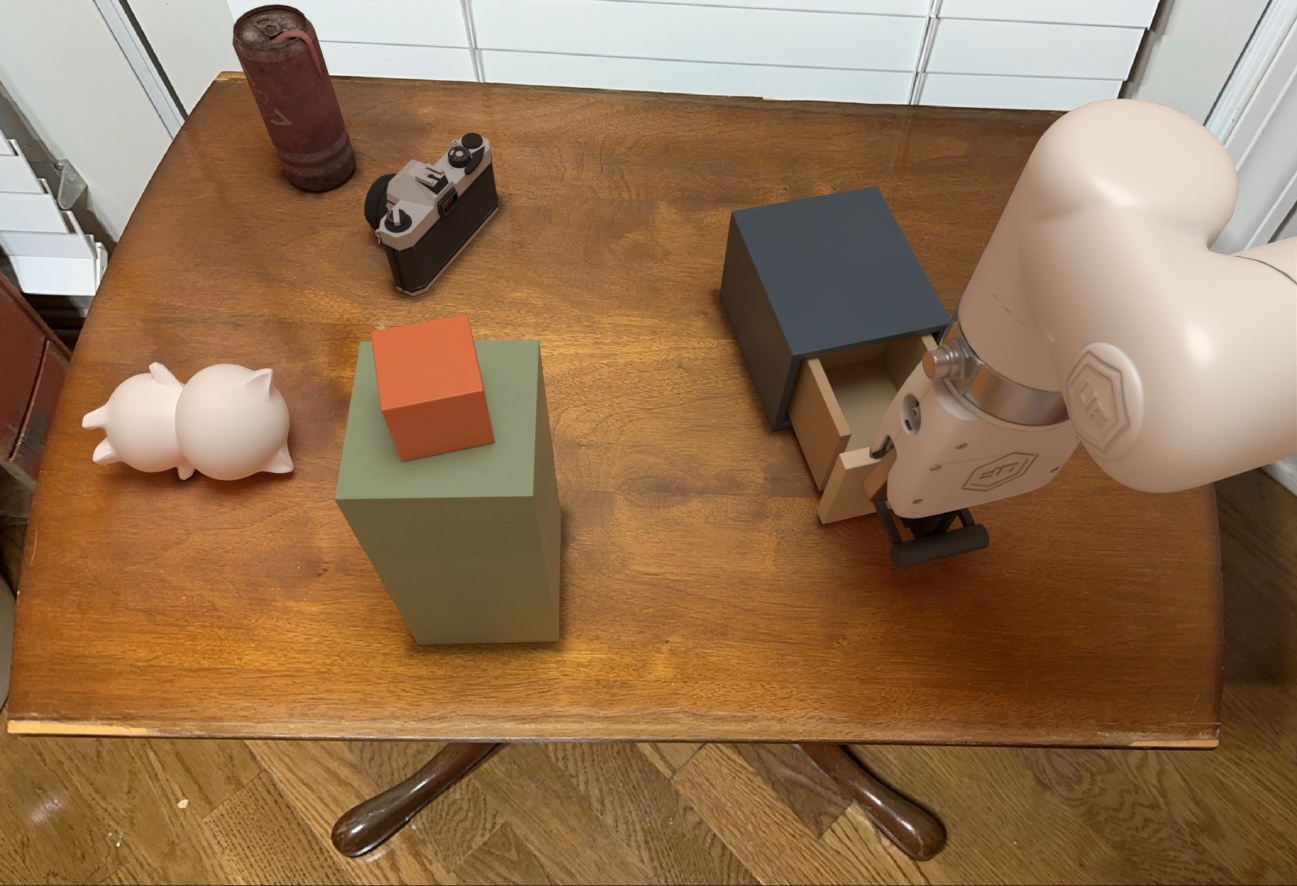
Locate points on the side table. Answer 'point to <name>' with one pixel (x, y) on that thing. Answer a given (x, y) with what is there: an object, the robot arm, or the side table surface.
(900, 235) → the cabinet
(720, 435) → the side table surface
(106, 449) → the cat figurine
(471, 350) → the block
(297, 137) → the can
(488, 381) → the stand
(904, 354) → the drawer
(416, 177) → the camera
